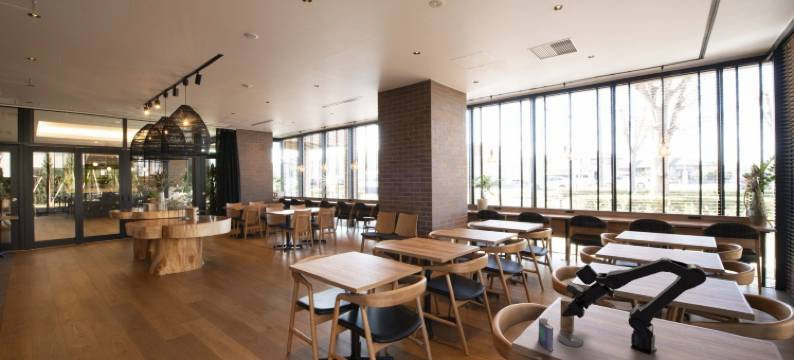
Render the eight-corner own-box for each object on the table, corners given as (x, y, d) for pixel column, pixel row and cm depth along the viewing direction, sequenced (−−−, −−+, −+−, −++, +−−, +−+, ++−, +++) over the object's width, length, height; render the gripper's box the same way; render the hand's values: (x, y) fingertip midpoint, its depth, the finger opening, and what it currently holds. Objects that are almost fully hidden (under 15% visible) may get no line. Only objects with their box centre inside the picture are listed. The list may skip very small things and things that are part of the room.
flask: (554, 351, 132) (554, 323, 131) (546, 351, 132) (546, 323, 131) (543, 339, 141) (543, 313, 140) (536, 339, 141) (536, 313, 140)
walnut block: (573, 328, 149) (574, 299, 148) (572, 333, 145) (572, 302, 145) (562, 326, 152) (562, 296, 151) (560, 330, 148) (560, 300, 147)
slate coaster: (587, 342, 138) (587, 340, 138) (575, 349, 133) (575, 347, 133) (565, 333, 145) (565, 331, 145) (553, 339, 140) (553, 338, 140)
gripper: (581, 271, 153) (554, 291, 160) (574, 283, 138) (544, 304, 145) (602, 292, 149) (573, 312, 155) (596, 307, 133) (564, 328, 140)
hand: (563, 313), depth 149 cm, fingers closed on walnut block, 4 cm apart
